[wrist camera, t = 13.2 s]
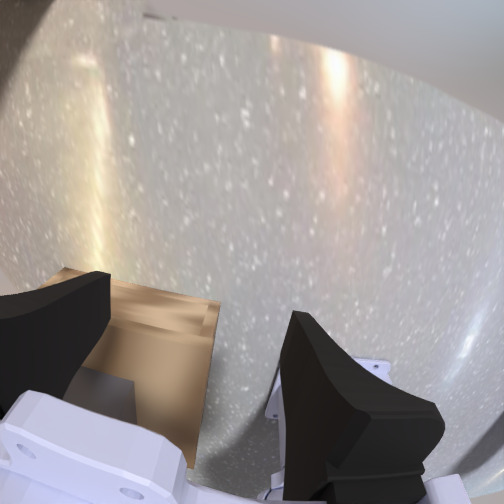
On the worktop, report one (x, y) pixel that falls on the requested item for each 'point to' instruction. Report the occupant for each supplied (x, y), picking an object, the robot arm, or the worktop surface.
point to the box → (157, 308)
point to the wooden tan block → (159, 377)
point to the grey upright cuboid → (103, 394)
